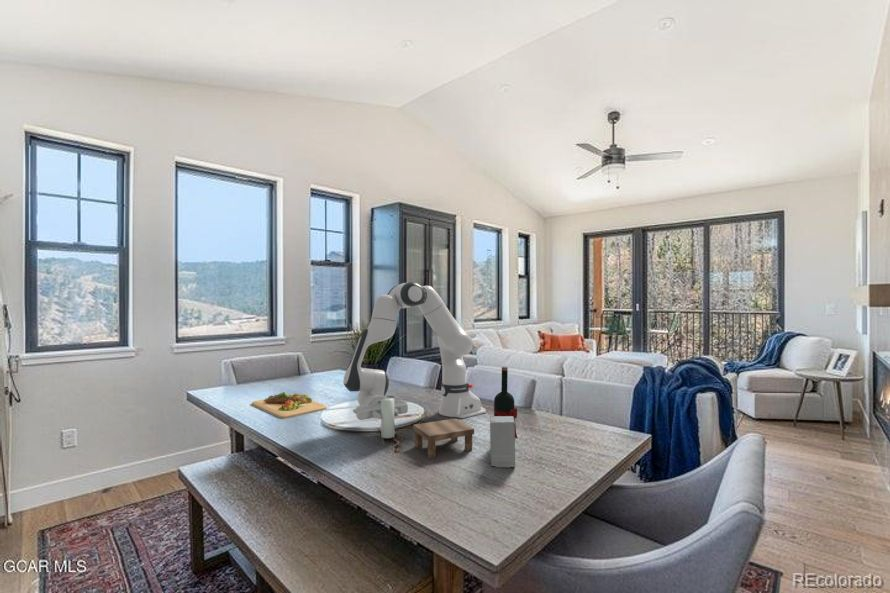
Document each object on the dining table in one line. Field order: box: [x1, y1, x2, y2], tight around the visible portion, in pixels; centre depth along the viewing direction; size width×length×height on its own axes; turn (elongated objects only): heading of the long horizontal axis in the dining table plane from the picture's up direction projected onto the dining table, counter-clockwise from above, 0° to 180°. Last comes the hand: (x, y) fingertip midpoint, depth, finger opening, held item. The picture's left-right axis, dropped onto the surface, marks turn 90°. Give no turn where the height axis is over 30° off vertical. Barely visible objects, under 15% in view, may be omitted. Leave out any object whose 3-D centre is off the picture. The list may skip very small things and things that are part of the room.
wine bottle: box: [493, 366, 519, 440], centre depth 165 cm, size 8×10×30 cm
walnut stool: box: [413, 417, 475, 459], centre depth 164 cm, size 18×14×8 cm
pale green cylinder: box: [380, 398, 396, 439], centre depth 169 cm, size 5×5×14 cm
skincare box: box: [489, 415, 516, 468], centre depth 150 cm, size 8×7×16 cm
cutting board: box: [251, 391, 328, 419], centre depth 218 cm, size 35×23×8 cm
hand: (388, 415), depth 168 cm, fingers closed on pale green cylinder, 5 cm apart
